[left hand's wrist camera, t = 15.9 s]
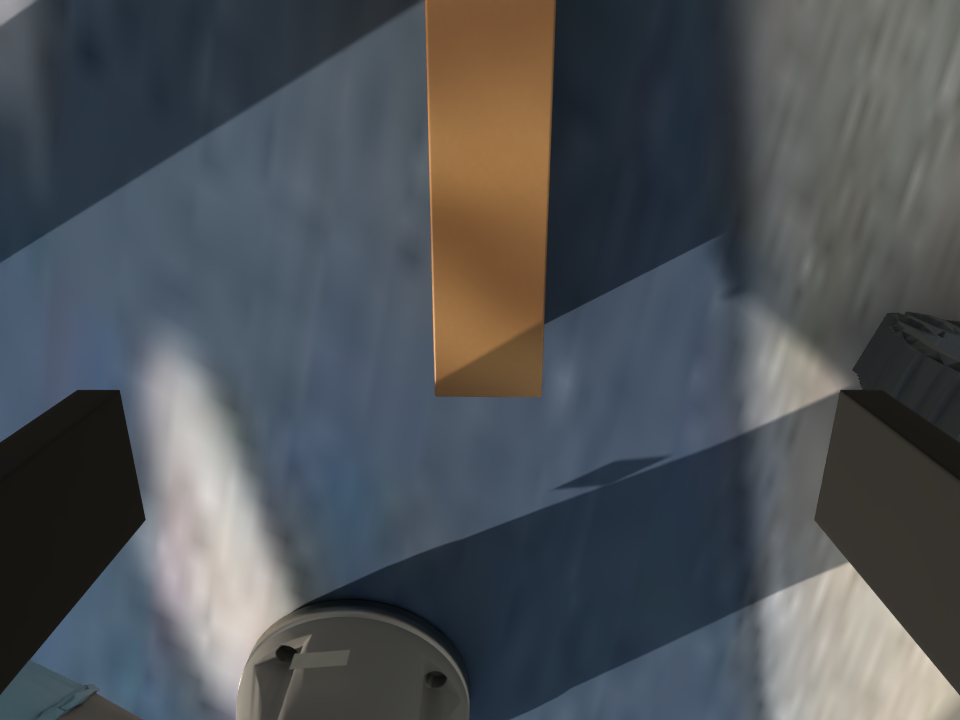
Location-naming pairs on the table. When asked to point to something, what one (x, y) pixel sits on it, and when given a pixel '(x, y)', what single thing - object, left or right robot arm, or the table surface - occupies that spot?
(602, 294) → the table surface
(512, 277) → the plank
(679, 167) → the table surface
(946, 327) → the toy
